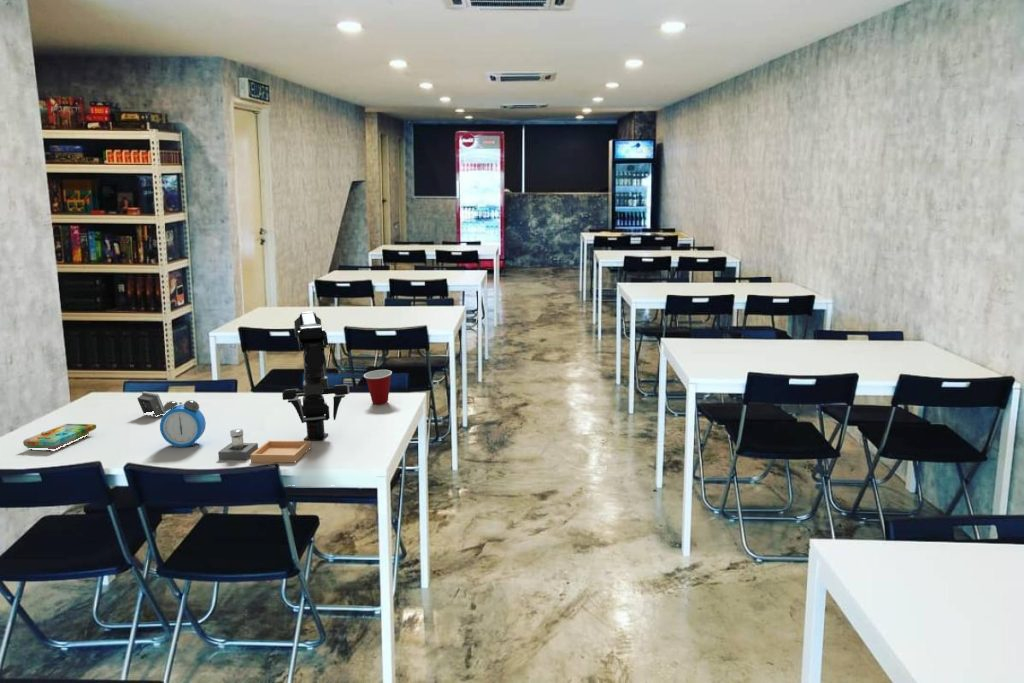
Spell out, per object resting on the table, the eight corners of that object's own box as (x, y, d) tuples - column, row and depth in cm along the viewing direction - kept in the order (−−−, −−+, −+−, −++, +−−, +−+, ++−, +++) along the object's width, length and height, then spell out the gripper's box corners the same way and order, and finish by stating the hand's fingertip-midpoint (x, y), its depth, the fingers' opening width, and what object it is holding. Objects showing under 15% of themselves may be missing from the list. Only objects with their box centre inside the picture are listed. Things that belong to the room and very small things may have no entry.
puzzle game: (22, 438, 272) (66, 421, 291) (24, 452, 273) (67, 434, 292) (53, 439, 269) (95, 422, 289) (55, 453, 270) (97, 435, 290)
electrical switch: (167, 415, 310) (162, 392, 308) (155, 420, 306) (150, 397, 304) (152, 412, 315) (147, 389, 313) (139, 417, 311) (134, 394, 309)
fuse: (235, 453, 264) (233, 429, 262) (247, 453, 264) (244, 429, 262) (230, 457, 260) (228, 432, 259) (242, 457, 260) (239, 432, 258)
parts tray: (268, 448, 268) (268, 440, 268) (310, 448, 266) (310, 440, 266) (251, 462, 254) (250, 454, 254) (295, 462, 253) (294, 455, 252)
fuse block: (231, 450, 267) (230, 442, 266) (258, 450, 266) (257, 443, 265) (218, 459, 258) (218, 452, 258) (246, 459, 257) (245, 452, 257)
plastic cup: (359, 404, 319) (357, 373, 317) (381, 398, 327) (379, 368, 324) (377, 408, 312) (375, 377, 309) (399, 402, 320) (397, 371, 317)
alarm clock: (161, 448, 271) (156, 404, 268) (168, 442, 277) (163, 399, 274) (202, 446, 271) (197, 402, 269) (208, 441, 278) (203, 397, 275)
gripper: (276, 372, 235) (281, 427, 235) (343, 366, 236) (348, 421, 237) (283, 371, 246) (288, 423, 246) (347, 365, 248) (351, 417, 248)
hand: (318, 421), depth 244 cm, fingers open, 9 cm apart
